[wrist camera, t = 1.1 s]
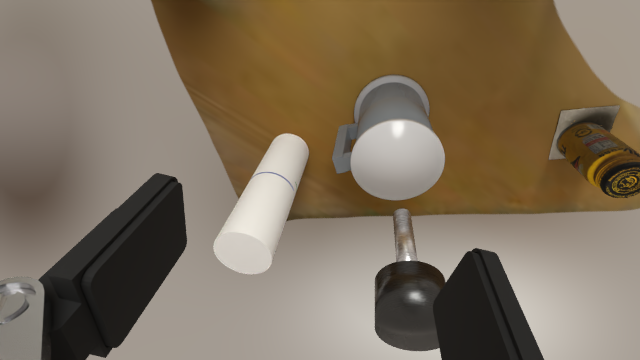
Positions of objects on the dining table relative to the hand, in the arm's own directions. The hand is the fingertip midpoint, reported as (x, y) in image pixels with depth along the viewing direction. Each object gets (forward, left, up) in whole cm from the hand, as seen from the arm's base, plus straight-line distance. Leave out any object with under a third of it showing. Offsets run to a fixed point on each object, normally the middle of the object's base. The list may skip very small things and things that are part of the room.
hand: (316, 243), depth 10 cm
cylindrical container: (+17, +16, -42) cm, 48 cm away
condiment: (-29, +24, -42) cm, 56 cm away
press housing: (-1, +13, -41) cm, 43 cm away
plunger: (-2, +13, -16) cm, 20 cm away
